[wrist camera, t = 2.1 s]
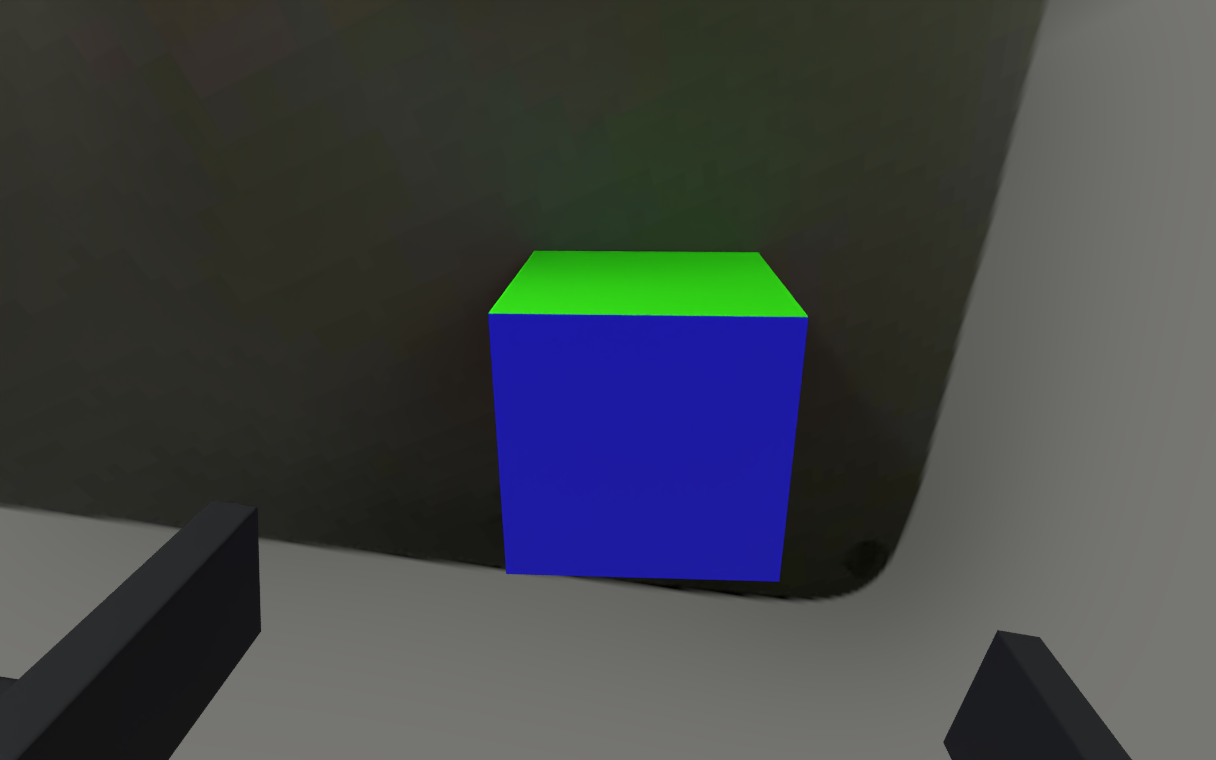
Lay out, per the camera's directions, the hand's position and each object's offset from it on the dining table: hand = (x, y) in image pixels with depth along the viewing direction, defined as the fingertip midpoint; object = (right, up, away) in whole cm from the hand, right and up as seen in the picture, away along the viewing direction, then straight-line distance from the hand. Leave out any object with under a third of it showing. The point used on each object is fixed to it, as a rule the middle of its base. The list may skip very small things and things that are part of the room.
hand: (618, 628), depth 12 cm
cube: (+1, +5, +14) cm, 15 cm away
